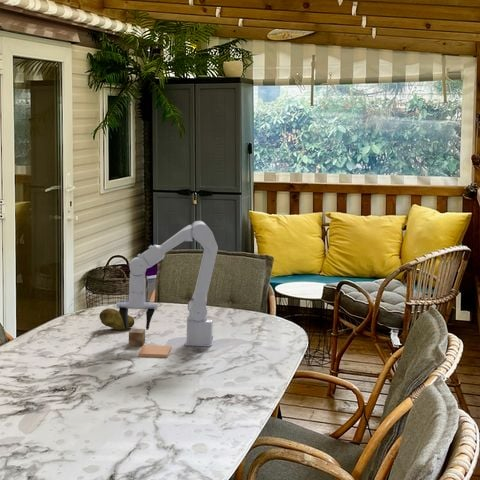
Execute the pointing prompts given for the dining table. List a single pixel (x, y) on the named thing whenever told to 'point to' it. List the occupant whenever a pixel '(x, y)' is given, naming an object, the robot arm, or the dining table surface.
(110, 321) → the olive green oval piece
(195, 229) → the robot arm
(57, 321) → the dining table surface
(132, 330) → the walnut cube
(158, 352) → the terracotta tile
